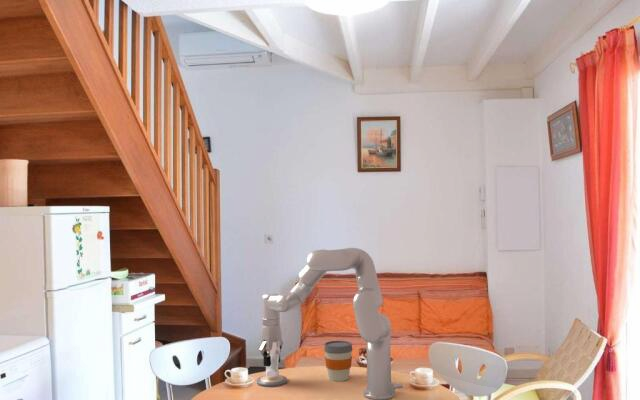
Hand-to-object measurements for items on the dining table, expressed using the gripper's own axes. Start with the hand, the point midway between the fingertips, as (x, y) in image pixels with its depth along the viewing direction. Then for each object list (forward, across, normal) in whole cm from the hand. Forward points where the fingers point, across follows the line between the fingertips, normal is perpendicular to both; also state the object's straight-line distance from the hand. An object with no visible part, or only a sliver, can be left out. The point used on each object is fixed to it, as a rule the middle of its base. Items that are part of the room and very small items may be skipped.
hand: (272, 363), depth 215 cm
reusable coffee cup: (+8, -18, +23) cm, 30 cm away
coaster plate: (+8, 0, 0) cm, 8 cm away
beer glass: (+5, 0, 0) cm, 5 cm away
